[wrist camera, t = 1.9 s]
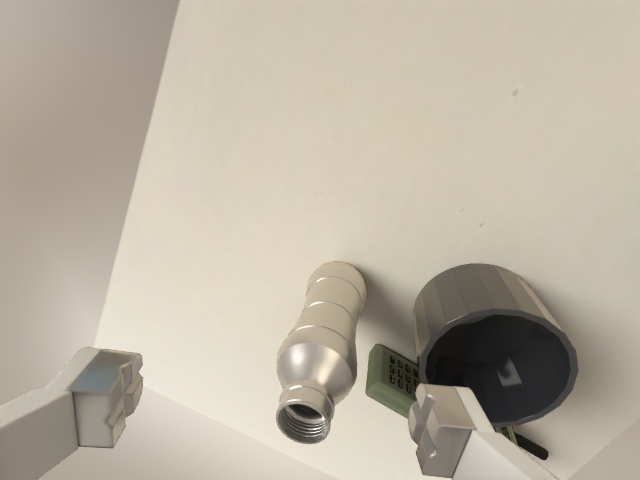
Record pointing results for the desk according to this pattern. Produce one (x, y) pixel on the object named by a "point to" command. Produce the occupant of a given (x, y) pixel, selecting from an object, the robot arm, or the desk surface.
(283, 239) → the desk surface
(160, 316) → the desk surface
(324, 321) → the metal bottle
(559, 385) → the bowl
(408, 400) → the handheld radio
